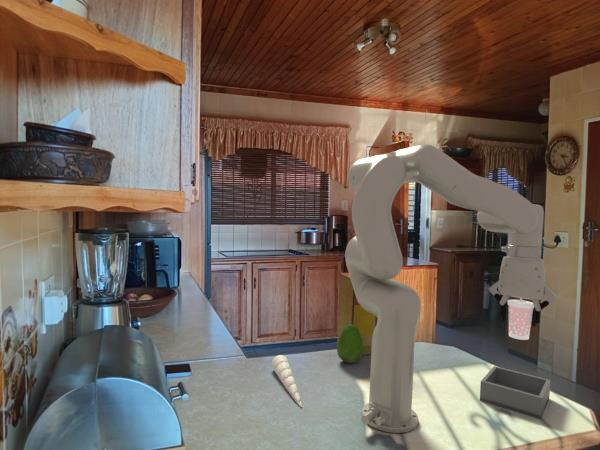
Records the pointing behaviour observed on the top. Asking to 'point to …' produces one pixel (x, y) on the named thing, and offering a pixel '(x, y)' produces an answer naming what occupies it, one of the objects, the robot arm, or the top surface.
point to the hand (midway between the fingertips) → (519, 322)
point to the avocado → (349, 344)
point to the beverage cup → (520, 318)
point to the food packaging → (354, 314)
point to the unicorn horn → (286, 376)
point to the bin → (515, 391)
